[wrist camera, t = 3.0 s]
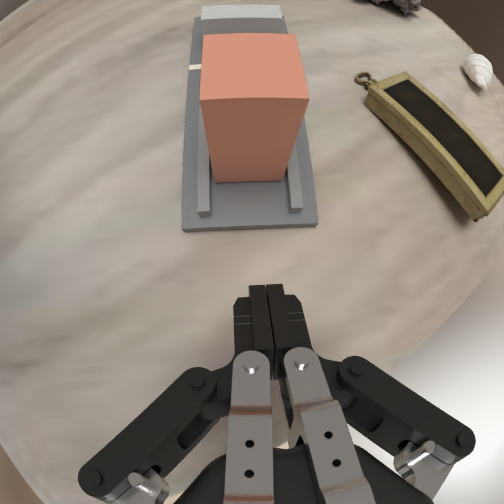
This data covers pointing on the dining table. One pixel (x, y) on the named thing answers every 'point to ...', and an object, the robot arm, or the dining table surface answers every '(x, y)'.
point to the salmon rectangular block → (251, 103)
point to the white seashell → (478, 70)
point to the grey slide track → (198, 159)
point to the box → (438, 140)
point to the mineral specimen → (405, 5)
